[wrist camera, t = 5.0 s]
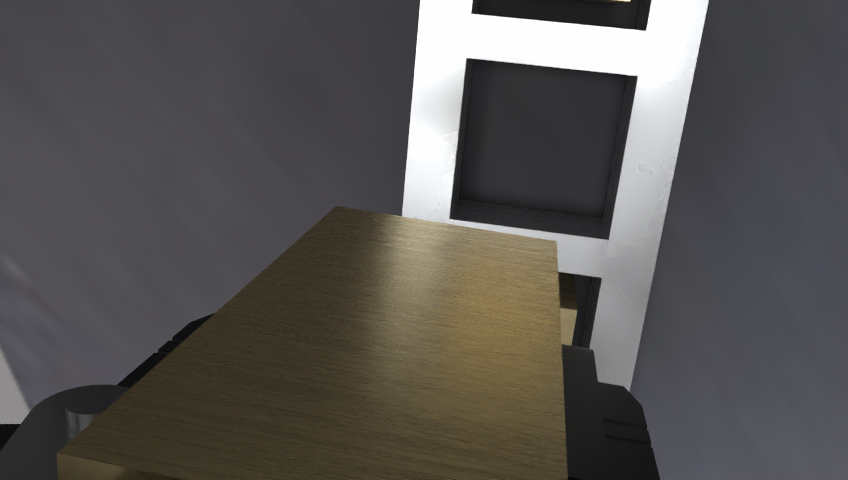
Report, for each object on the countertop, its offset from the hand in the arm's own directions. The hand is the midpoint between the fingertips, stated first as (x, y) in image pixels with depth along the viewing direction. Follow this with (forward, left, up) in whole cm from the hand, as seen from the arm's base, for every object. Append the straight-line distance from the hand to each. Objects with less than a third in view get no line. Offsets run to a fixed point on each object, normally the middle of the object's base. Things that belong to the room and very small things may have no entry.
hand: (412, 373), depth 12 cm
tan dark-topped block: (0, 0, -2) cm, 2 cm away
